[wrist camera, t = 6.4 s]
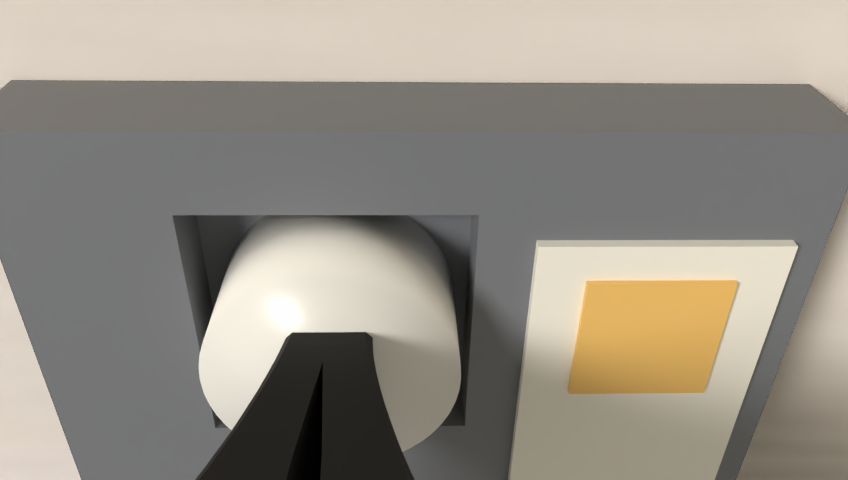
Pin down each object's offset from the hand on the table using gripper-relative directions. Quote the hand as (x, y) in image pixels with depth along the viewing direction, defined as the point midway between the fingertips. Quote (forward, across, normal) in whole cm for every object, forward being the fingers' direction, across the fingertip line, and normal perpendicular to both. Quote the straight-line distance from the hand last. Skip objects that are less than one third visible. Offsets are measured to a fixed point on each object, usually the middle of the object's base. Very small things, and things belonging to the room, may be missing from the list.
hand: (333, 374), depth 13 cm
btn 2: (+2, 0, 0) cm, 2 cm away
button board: (+3, -1, +8) cm, 9 cm away
